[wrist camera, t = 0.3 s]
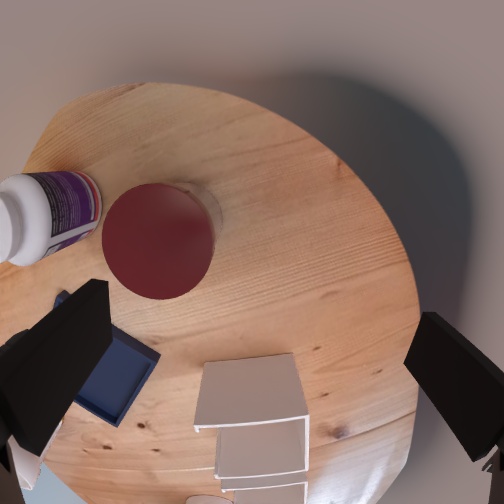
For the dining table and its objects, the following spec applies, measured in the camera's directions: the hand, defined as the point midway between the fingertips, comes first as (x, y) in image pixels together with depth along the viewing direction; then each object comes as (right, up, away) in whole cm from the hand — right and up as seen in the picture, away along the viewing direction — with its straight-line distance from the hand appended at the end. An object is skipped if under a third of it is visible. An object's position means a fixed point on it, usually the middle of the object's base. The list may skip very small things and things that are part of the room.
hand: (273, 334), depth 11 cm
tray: (-23, -13, +24) cm, 36 cm away
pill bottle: (-21, +9, +19) cm, 29 cm away
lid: (-8, +4, +9) cm, 12 cm away
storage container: (0, -22, +27) cm, 35 cm away
